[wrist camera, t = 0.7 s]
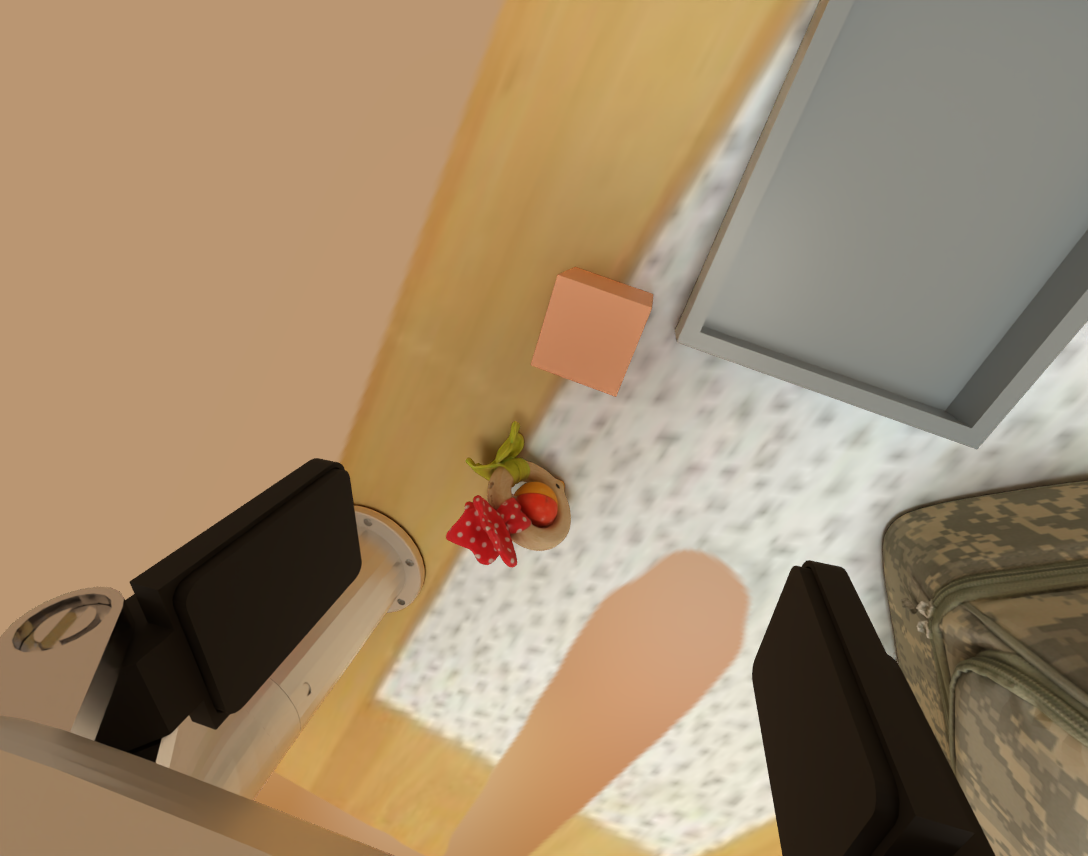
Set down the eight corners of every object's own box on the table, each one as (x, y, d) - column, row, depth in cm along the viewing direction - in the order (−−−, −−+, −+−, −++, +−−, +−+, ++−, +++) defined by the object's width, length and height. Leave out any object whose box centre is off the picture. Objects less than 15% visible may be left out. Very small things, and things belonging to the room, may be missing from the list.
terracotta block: (623, 369, 32) (615, 396, 27) (551, 343, 33) (530, 365, 27) (653, 293, 30) (652, 307, 25) (575, 266, 30) (557, 274, 25)
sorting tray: (942, 425, 29) (977, 449, 26) (674, 330, 30) (676, 342, 27) (1294, -16, 19) (1417, -63, 16) (874, -125, 21) (912, -188, 18)
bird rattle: (584, 447, 38) (491, 399, 34) (613, 558, 29) (493, 512, 25) (540, 492, 41) (450, 454, 37) (556, 606, 32) (439, 571, 28)
